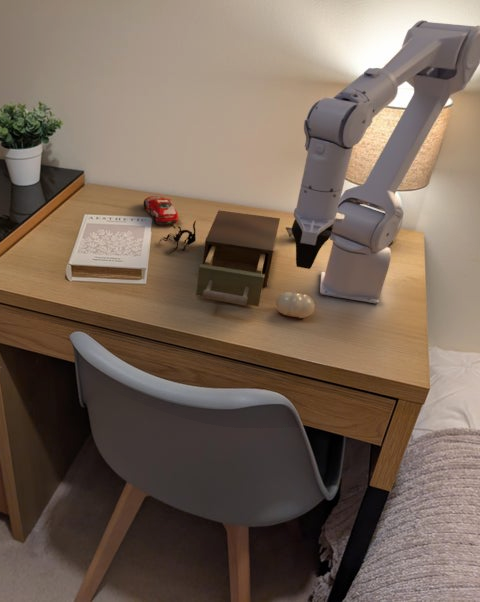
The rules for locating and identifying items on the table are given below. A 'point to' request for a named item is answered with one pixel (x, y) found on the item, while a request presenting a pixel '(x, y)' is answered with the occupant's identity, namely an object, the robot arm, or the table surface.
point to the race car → (161, 210)
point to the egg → (295, 304)
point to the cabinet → (244, 235)
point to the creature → (190, 239)
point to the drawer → (232, 276)
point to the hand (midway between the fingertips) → (303, 266)
